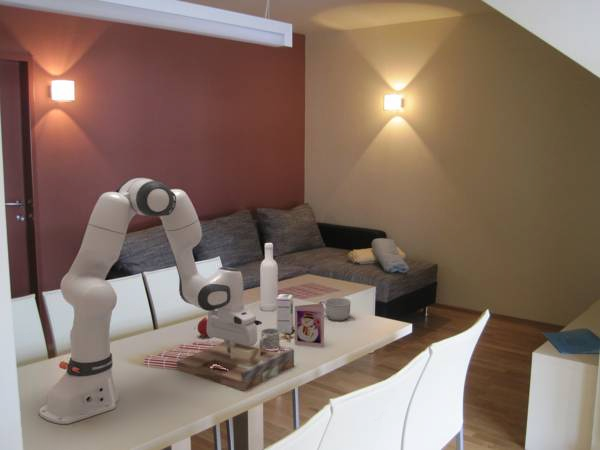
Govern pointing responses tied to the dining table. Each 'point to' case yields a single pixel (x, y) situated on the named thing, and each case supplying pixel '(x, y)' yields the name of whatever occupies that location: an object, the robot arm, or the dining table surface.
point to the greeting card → (309, 325)
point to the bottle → (268, 280)
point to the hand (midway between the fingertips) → (231, 352)
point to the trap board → (236, 366)
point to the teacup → (337, 308)
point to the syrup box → (285, 313)
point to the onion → (203, 327)
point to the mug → (269, 339)
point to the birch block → (245, 355)
